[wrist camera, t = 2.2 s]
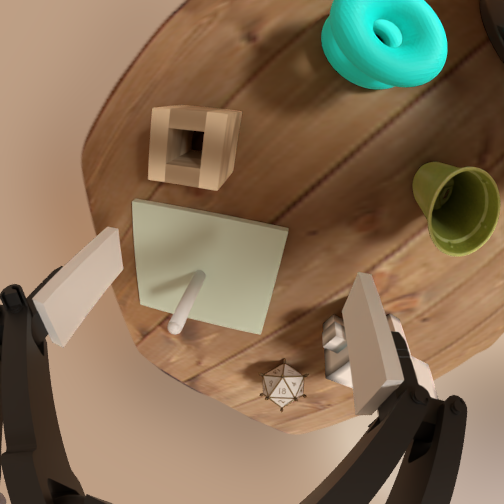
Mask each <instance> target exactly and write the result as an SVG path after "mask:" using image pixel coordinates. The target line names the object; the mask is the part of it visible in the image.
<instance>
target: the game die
mask: <svg viewBox="0 0 504 504" xmlns="http://www.w3.org/2000/svg"><path fill="white" fill-rule="evenodd" d="M285 362H286V359H285V358H284V360H283V364H281V365H279V366H278V367H276V368H274V369H272V370H271V371H269V372H267V373H265V374H262V373H259V375H260V376H263V393H260V395H259V396H263V395H264V396H266V398H265V400H268V399H270V400H271V401H272V402H274V403H275V404H277V405H278V406H279V407H281V410H280V411H281V412H282V411H283V407H285V406H287V405H288V404H290V403H292V402H293V401H298V398H300V397H302V396H303V397H304V398H305V397H307V396H306V395H305V394H303V390H304V377H308V375H309V374H305V375H302V374H301V373H299V372H298V371H296V370H295V369H293V368H292V367H290V366H289V365H287V364H286V363H285Z"/></svg>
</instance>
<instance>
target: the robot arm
mask: <svg viewBox="0 0 504 504" xmlns="http://www.w3.org/2000/svg"><path fill="white" fill-rule="evenodd" d="M480 11H481V16H482V20H483V23H484V26H485V29H486V31H487V34H488V36H489V38H490V41H491V43H492V45H493V46H494V48H495V50H496V52H497V53H498V55H499V57H500V58H501V60H502V61H503V63H504V0H480ZM122 270H123V263H122V256H121V248H120V240H119V232H118V229H117V228H112V227H107V228H105V229H104V230H103V231H102V232H101V233H100V234H98V235H97V236H96V237H95V238H94V239H93V240H92V241H90V242H89V243H88V244H87V245H86V246H85V247H84V248H83V249H82V250H80V251H79V252H78V253H77V254H76V255H75V256H74V257H73V258H72V259H71V260H70V261H69V262H68V263H67V264H66V265H65V266H64V267H63V266H61V267H59V268H57V269H56V270H54V271H53V272H52V273H51V274H50V275H49V276H48V277H47V278H46V279H45V280H44V281H43V283H41V284H40V285H39V286H38V287H37V288H36V289H35V290H34V291H33V292H32V293H31V294H30V295H29V296H28V297H27V298H26V297H25V295H24V292H23V290H22V287H21V286H20V285H17V284H13V285H10V286H7V287H6V288H5V289H3V291H2V292H1V294H0V299H1V301H2V303H3V305H0V478H1V465H2V470H3V474H4V479H5V482H6V486H7V490H8V494H9V497H10V501H11V504H112V503H109V502H107V501H104V500H101V499H98V498H95V497H93V496H90V495H88V494H87V495H86V496H85V494H84V492H83V489H82V487H81V485H80V482H79V481H78V479H77V477H76V476H75V475H74V473H73V472H72V470H71V468H70V465H69V462H68V459H67V456H66V452H65V449H64V445H63V441H62V437H61V434H60V430H59V425H58V420H57V416H56V411H55V405H54V400H53V394H52V387H51V380H50V372H49V362H48V351H47V342H46V339H45V337H46V336H47V335H48V334H49V336H50V338H51V340H52V342H53V343H55V344H57V345H59V346H61V347H64V346H65V345H66V343H67V342H68V341H69V339H70V338H71V336H72V335H73V333H74V332H75V331H76V329H77V328H78V327H79V325H80V324H81V322H82V321H83V320H84V318H85V317H86V316H87V314H88V313H89V312H90V310H91V309H92V308H93V306H94V305H95V304H96V303H97V301H98V300H99V299H100V297H101V296H102V295H103V294H104V292H105V291H106V290H107V289H108V287H109V286H110V285H111V284H112V282H113V281H114V280H115V279H116V277H117V276H118V275H119V274H120V273H121V271H122ZM342 315H343V321H344V327H345V333H346V340H347V347H348V354H349V361H350V368H351V376H352V385H353V394H354V404H355V415H372V414H373V413H374V412H375V411H376V410H377V409H378V412H379V417H377V418H376V419H375V420H374V421H373V422H372V423H371V424H370V425H369V426H368V427H369V429H368V430H367V431H366V433H365V434H364V435H363V437H362V438H361V439H360V441H359V442H358V443H357V444H356V445H355V447H354V448H353V449H352V450H351V451H350V452H349V454H348V455H347V456H346V457H345V458H344V459H343V460H342V462H341V463H340V464H339V465H338V466H337V467H336V468H335V469H334V470H333V471H332V472H331V474H330V475H329V476H328V477H327V478H326V479H325V480H324V481H323V482H322V483H321V484H320V485H319V486H318V487H317V488H316V489H315V490H314V491H313V492H312V493H311V494H309V495H308V496H307V497H306V498H305V499H304V500H303V501H302V502H301V503H300V504H369V502H370V501H371V500H372V499H373V497H374V496H375V494H377V492H378V491H379V489H380V488H381V487H382V485H383V484H384V483H385V481H386V480H387V478H388V477H389V476H390V474H391V473H392V471H393V469H394V468H395V467H396V465H397V464H398V462H399V460H400V459H401V457H402V456H403V454H404V453H405V455H404V458H403V461H402V464H401V466H400V469H399V472H398V475H397V477H396V480H395V482H394V485H393V487H392V490H391V492H390V495H389V497H388V499H387V501H386V503H385V504H450V501H451V497H452V494H453V490H454V487H455V482H456V479H457V474H458V470H459V465H460V460H461V454H462V449H463V443H464V435H465V428H466V418H467V407H466V404H465V402H464V401H463V399H462V398H460V397H459V396H455V395H453V396H449V398H447V399H446V400H445V401H442V400H439V399H435V398H432V397H430V394H429V392H428V390H426V389H425V388H424V387H423V386H421V385H419V384H418V381H417V377H416V374H415V370H414V367H413V363H412V360H411V358H410V354H409V351H408V347H407V344H406V341H405V339H404V338H403V337H402V335H401V334H400V333H399V332H393V331H390V327H389V324H388V321H387V318H386V315H385V312H384V309H383V306H382V303H381V300H380V297H379V294H378V292H377V289H376V286H375V283H374V281H373V278H372V275H371V274H366V273H361V272H358V274H357V276H356V279H355V281H354V284H353V286H352V289H351V291H350V293H349V296H348V298H347V300H346V303H345V305H344V307H343V310H342ZM3 424H4V433H5V440H6V446H7V450H6V452H5V453H3V454H2V455H1V441H2V425H3ZM405 451H406V452H405ZM0 504H6V499H5V497H4V495H3V494H2V493H0Z"/></svg>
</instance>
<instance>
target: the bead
mask: <svg viewBox="0 0 504 504" xmlns="http://www.w3.org/2000/svg"><path fill="white" fill-rule="evenodd" d="M241 117H242V111H236V110H229V109H220V108H211V107H201V106H189V105H175V106H165V107H156V108H152V118H151V130H150V146H149V167H148V180H153V181H160V182H167V183H173V184H180V185H186V186H192V187H198V188H204V189H209V190H215V191H218V190H219V188H220V187H221V186H222V185H223V183H224V182H225V181H226V180H227V179H228V177H229V176H230V175H231V174H232V172H233V169H234V162H235V156H236V149H237V143H238V136H239V130H240V124H241ZM193 131H202V132H204V140H203V148H202V151H195V150H191V146H192V137H193Z"/></svg>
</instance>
